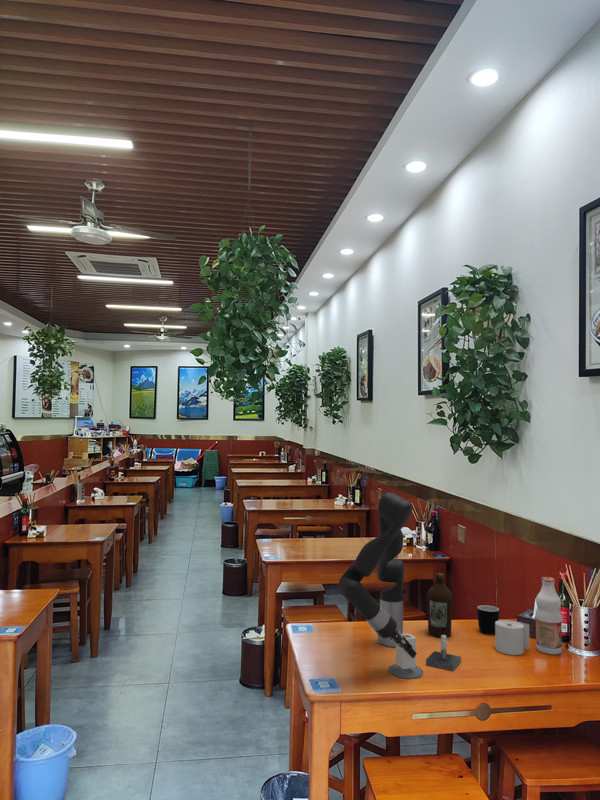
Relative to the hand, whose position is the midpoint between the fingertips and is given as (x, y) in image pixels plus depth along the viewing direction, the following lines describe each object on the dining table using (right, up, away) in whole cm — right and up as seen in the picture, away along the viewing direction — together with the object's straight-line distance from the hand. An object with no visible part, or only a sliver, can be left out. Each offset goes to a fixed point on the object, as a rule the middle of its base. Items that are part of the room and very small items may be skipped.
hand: (410, 652), depth 199 cm
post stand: (+14, -7, +7) cm, 17 cm away
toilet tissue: (+44, -9, +23) cm, 50 cm away
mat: (-2, -6, -1) cm, 7 cm away
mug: (+42, -11, +45) cm, 62 cm away
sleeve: (-2, -4, -1) cm, 5 cm away
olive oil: (+20, -10, +39) cm, 45 cm away
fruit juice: (+59, -10, +23) cm, 64 cm away
